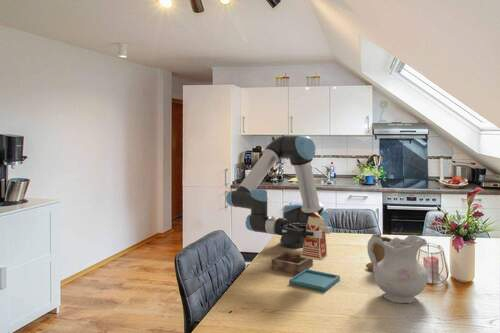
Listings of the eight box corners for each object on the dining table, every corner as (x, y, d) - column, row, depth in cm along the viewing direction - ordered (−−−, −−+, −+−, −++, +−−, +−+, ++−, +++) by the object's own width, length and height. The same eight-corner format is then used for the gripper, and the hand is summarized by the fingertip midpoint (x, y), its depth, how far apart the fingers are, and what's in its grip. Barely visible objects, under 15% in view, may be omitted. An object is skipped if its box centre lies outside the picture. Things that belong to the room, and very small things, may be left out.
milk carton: (321, 260, 165) (323, 211, 165) (299, 257, 170) (301, 209, 169) (327, 256, 174) (329, 209, 173) (307, 252, 178) (308, 207, 177)
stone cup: (381, 276, 180) (382, 242, 178) (362, 268, 190) (362, 236, 189) (405, 270, 187) (406, 238, 186) (385, 263, 197) (386, 232, 196)
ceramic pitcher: (379, 312, 146) (383, 245, 142) (358, 287, 165) (361, 228, 161) (435, 308, 149) (441, 243, 145) (408, 285, 168) (413, 226, 164)
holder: (271, 268, 190) (271, 259, 190) (286, 260, 202) (286, 251, 202) (299, 274, 182) (299, 264, 182) (312, 265, 194) (312, 256, 194)
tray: (289, 284, 171) (289, 279, 170) (305, 273, 184) (306, 268, 184) (325, 292, 162) (325, 287, 162) (339, 280, 175) (339, 275, 175)
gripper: (265, 222, 172) (315, 228, 160) (288, 214, 189) (335, 219, 177) (265, 239, 173) (315, 247, 160) (288, 229, 190) (335, 236, 177)
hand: (325, 232), depth 168 cm, fingers closed on milk carton, 8 cm apart
